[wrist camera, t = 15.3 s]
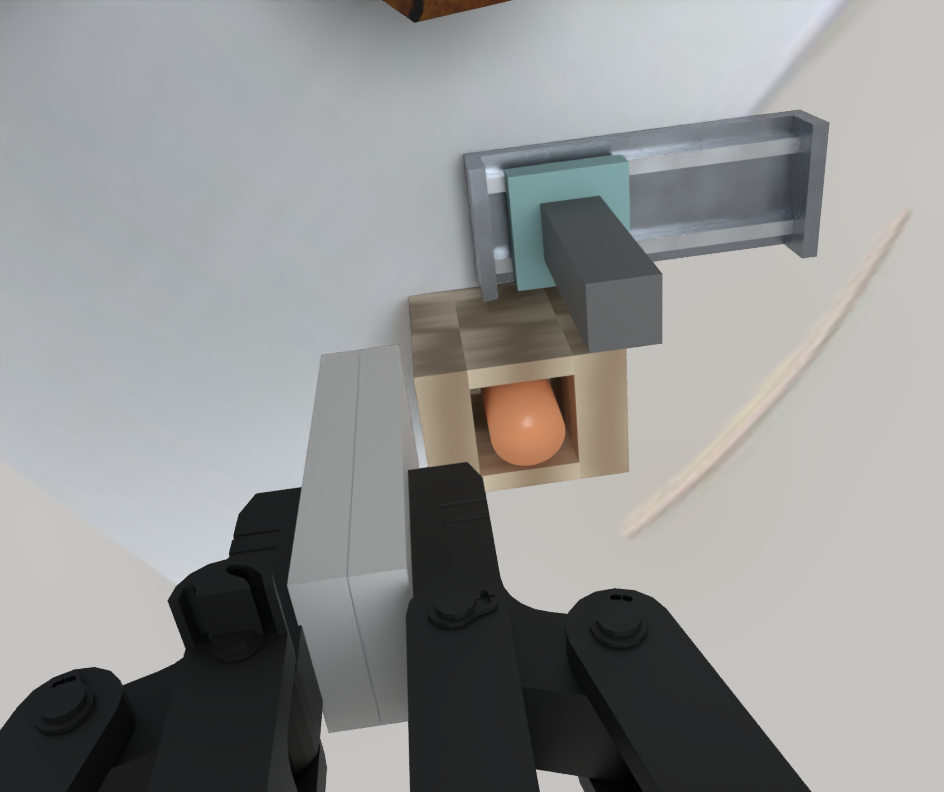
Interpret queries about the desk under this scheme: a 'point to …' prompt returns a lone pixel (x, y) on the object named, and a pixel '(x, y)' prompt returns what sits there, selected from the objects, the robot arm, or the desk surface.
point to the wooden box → (511, 361)
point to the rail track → (678, 188)
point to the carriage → (585, 249)
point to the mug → (436, 7)
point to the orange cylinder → (524, 421)
